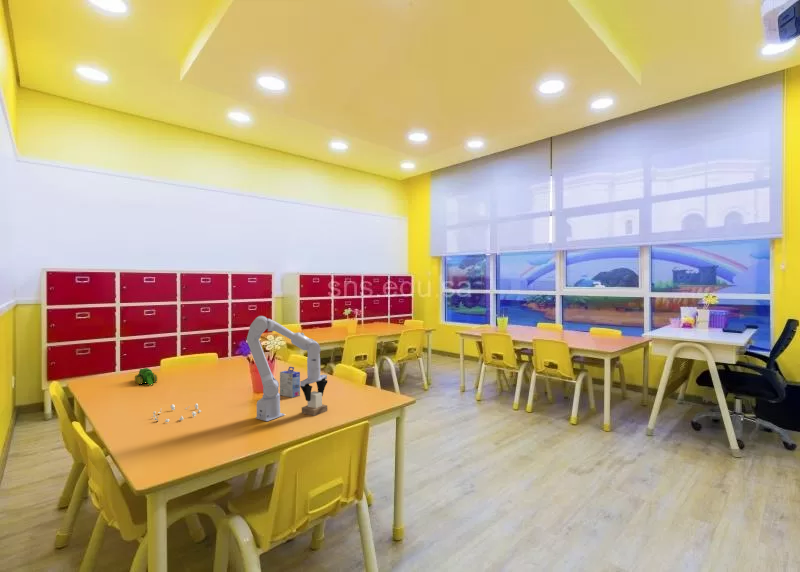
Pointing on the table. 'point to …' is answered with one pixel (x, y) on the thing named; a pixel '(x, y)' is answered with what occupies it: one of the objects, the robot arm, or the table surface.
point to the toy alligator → (146, 376)
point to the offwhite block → (315, 400)
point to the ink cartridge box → (290, 383)
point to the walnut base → (314, 410)
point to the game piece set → (174, 409)
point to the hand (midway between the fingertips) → (314, 398)
